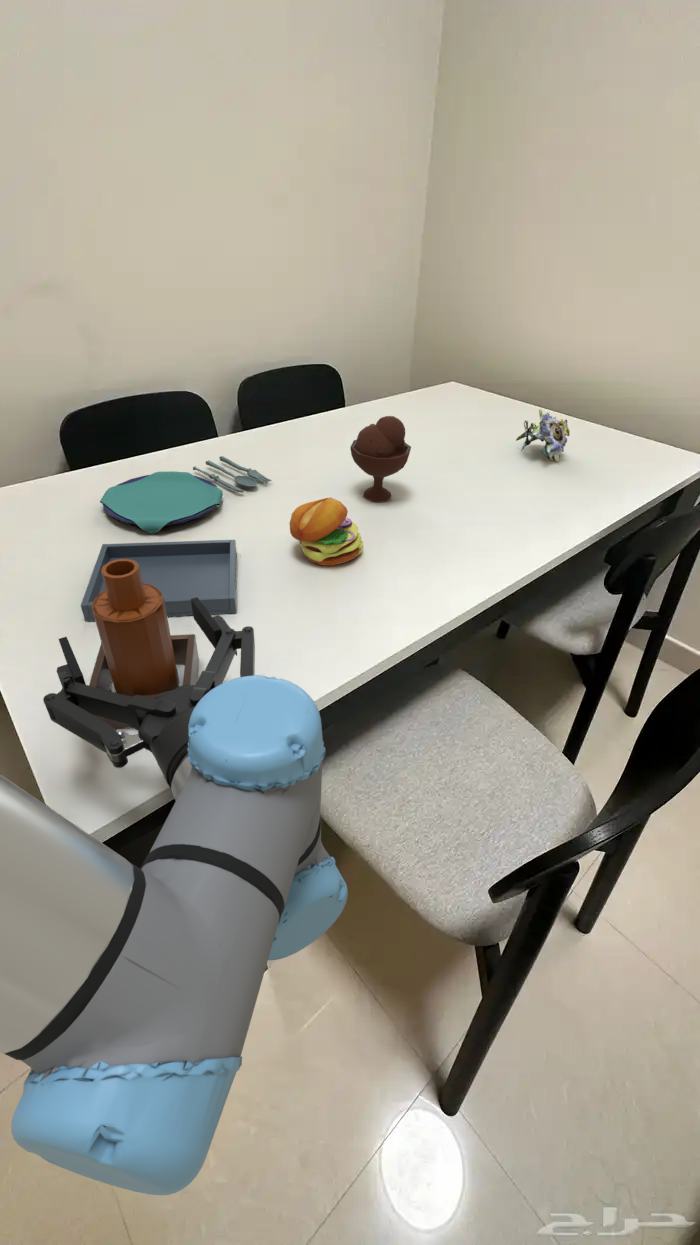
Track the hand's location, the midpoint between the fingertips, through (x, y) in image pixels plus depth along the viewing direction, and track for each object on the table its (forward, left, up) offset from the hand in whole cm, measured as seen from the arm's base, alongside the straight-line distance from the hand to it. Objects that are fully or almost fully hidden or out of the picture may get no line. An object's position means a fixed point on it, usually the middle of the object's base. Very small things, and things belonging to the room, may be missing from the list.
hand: (133, 626), depth 61 cm
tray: (0, +22, -9) cm, 24 cm away
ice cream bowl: (+36, +49, -10) cm, 61 cm away
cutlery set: (+1, +50, -10) cm, 51 cm away
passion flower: (+76, +67, -10) cm, 102 cm away
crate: (0, 0, -9) cm, 9 cm away
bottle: (0, 0, -9) cm, 9 cm away
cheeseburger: (+24, +29, -10) cm, 39 cm away
